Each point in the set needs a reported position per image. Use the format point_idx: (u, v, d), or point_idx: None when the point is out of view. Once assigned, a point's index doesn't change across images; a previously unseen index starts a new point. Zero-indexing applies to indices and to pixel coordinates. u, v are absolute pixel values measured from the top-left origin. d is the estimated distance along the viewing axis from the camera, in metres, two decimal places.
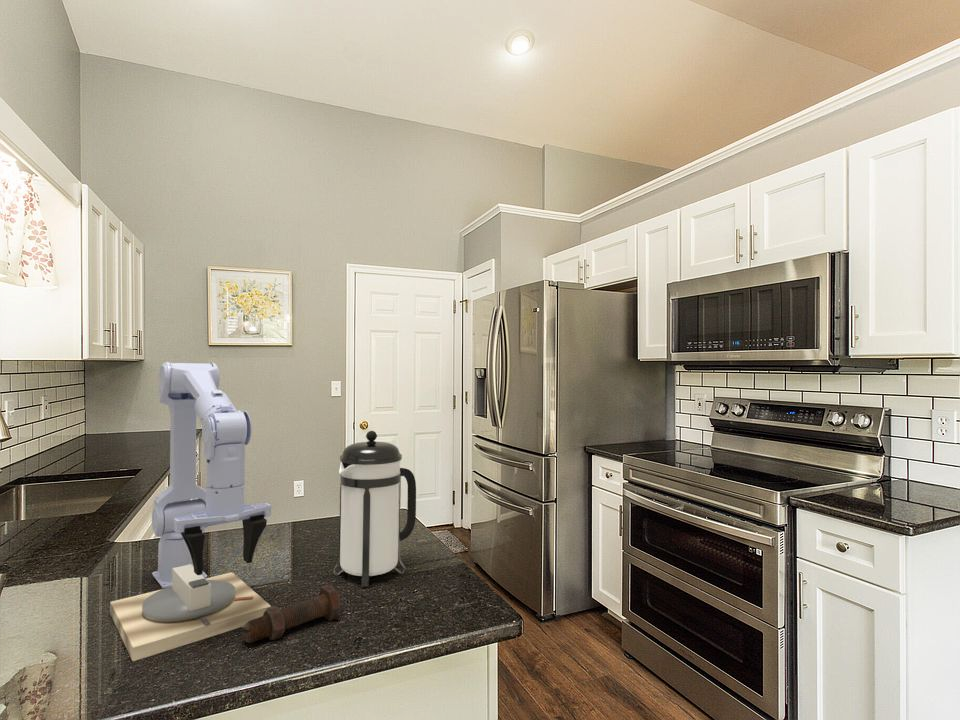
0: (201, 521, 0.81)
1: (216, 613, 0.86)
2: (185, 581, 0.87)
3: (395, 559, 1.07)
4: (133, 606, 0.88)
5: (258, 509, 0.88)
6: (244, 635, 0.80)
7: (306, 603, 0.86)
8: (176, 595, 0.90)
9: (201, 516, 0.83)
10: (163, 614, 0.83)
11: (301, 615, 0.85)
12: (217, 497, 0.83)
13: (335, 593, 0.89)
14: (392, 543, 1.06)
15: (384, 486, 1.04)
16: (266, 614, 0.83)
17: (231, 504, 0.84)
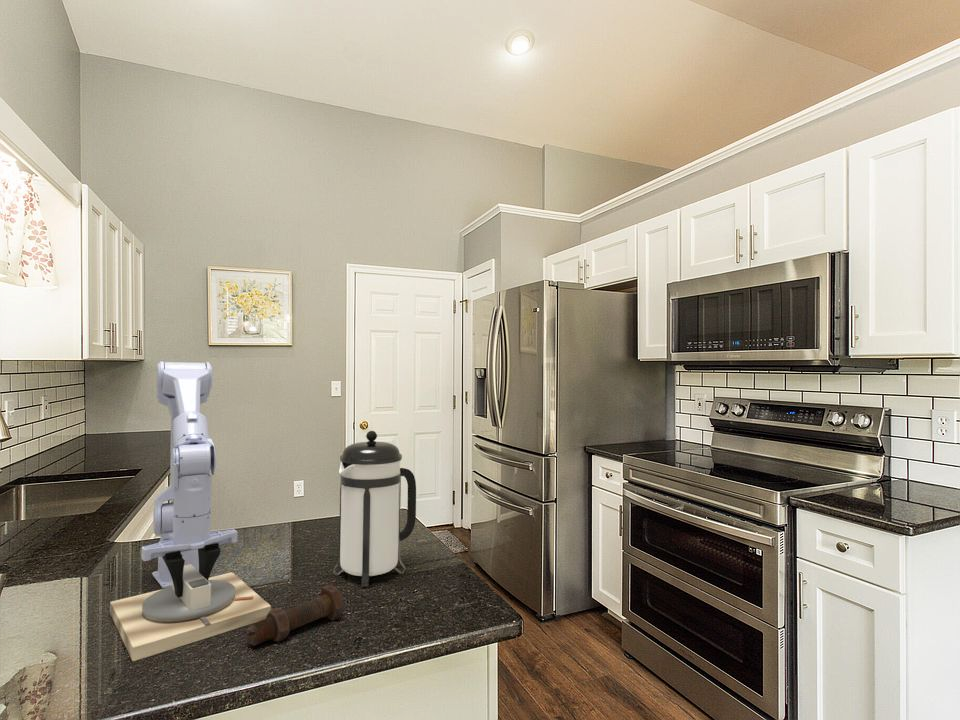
0: (167, 549, 0.85)
1: (216, 613, 0.86)
2: (185, 581, 0.87)
3: (395, 559, 1.07)
4: (133, 606, 0.88)
5: (224, 536, 0.92)
6: (249, 638, 0.79)
7: (309, 604, 0.86)
8: None
9: (168, 544, 0.87)
10: (163, 614, 0.83)
11: (305, 616, 0.85)
12: (183, 526, 0.87)
13: (337, 593, 0.89)
14: (392, 543, 1.06)
15: (384, 486, 1.04)
16: (269, 616, 0.82)
17: (197, 532, 0.88)
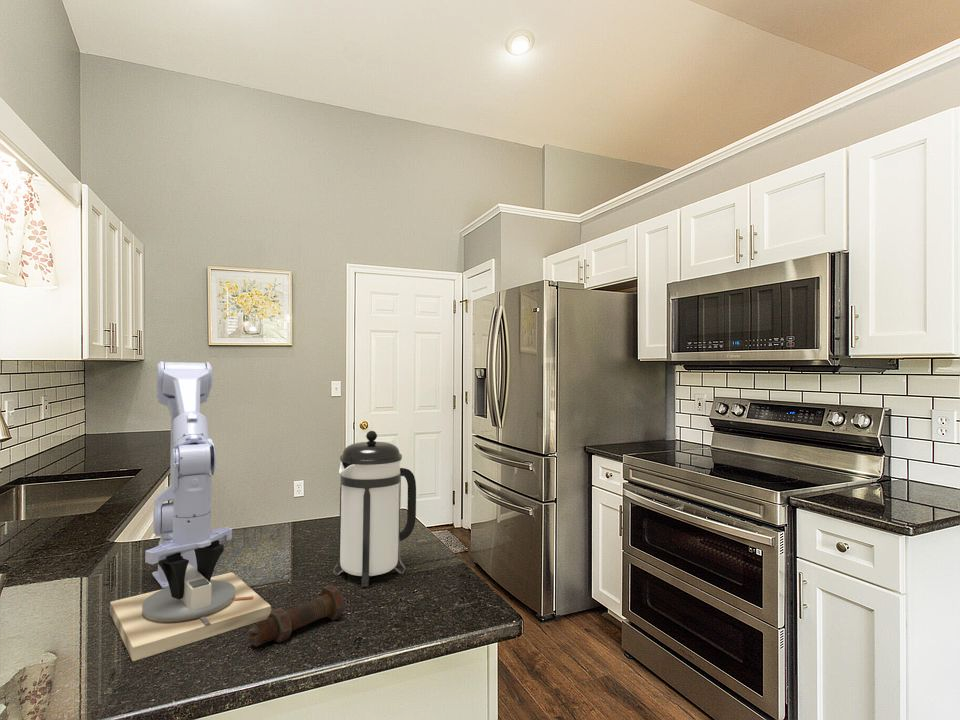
0: (175, 550, 0.85)
1: (216, 613, 0.86)
2: (185, 581, 0.87)
3: (395, 559, 1.07)
4: (133, 606, 0.88)
5: (222, 533, 0.93)
6: (251, 638, 0.79)
7: (310, 604, 0.86)
8: None
9: (171, 546, 0.86)
10: (163, 614, 0.83)
11: (306, 616, 0.84)
12: (190, 526, 0.87)
13: (338, 593, 0.89)
14: (392, 543, 1.06)
15: (384, 486, 1.04)
16: (271, 617, 0.82)
17: (202, 531, 0.88)
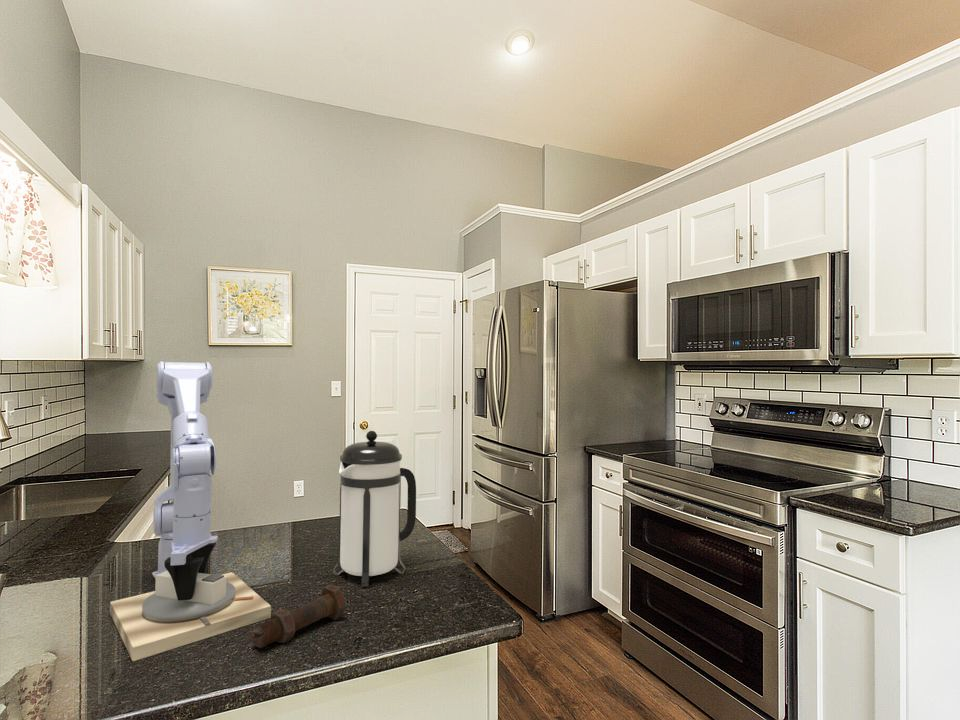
0: (196, 548, 0.86)
1: (216, 613, 0.86)
2: None
3: (395, 559, 1.07)
4: (133, 606, 0.88)
5: None
6: (255, 640, 0.78)
7: (312, 604, 0.86)
8: (173, 599, 0.88)
9: (185, 546, 0.86)
10: (188, 612, 0.83)
11: (309, 616, 0.84)
12: (202, 523, 0.88)
13: (340, 592, 0.89)
14: (392, 543, 1.06)
15: (384, 486, 1.04)
16: (274, 618, 0.82)
17: (209, 527, 0.90)
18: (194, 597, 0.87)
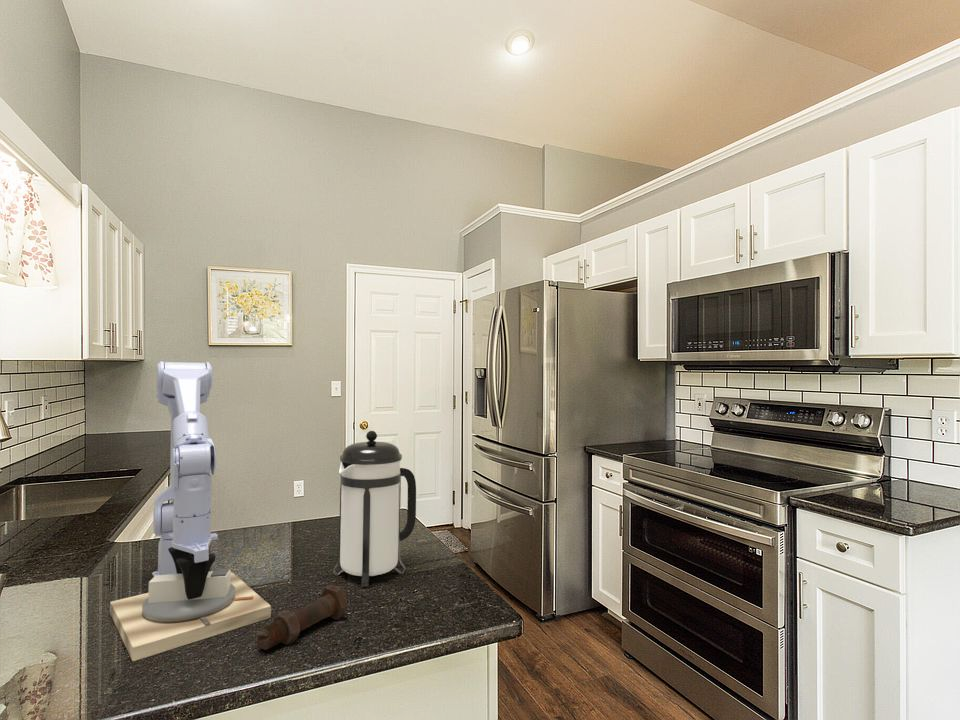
0: None
1: (216, 613, 0.86)
2: None
3: (395, 559, 1.07)
4: (133, 606, 0.88)
5: None
6: (260, 642, 0.78)
7: (315, 604, 0.86)
8: (174, 601, 0.87)
9: (197, 544, 0.87)
10: (210, 606, 0.85)
11: (312, 616, 0.84)
12: (208, 521, 0.90)
13: (341, 592, 0.89)
14: (392, 543, 1.06)
15: (384, 486, 1.04)
16: (278, 619, 0.81)
17: None
18: (202, 594, 0.88)
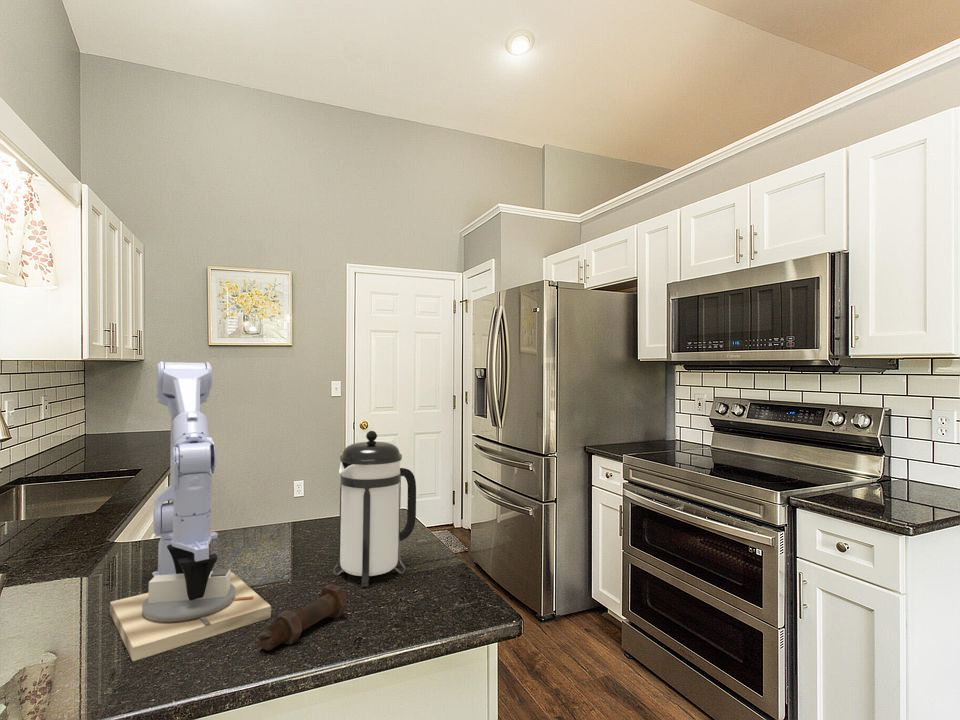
0: None
1: (216, 613, 0.86)
2: None
3: (395, 559, 1.07)
4: (133, 606, 0.88)
5: None
6: (263, 643, 0.78)
7: (315, 604, 0.86)
8: (174, 601, 0.87)
9: None
10: (211, 606, 0.85)
11: (313, 616, 0.84)
12: (208, 520, 0.90)
13: (341, 591, 0.90)
14: (392, 543, 1.06)
15: (384, 486, 1.04)
16: (279, 620, 0.81)
17: None
18: None
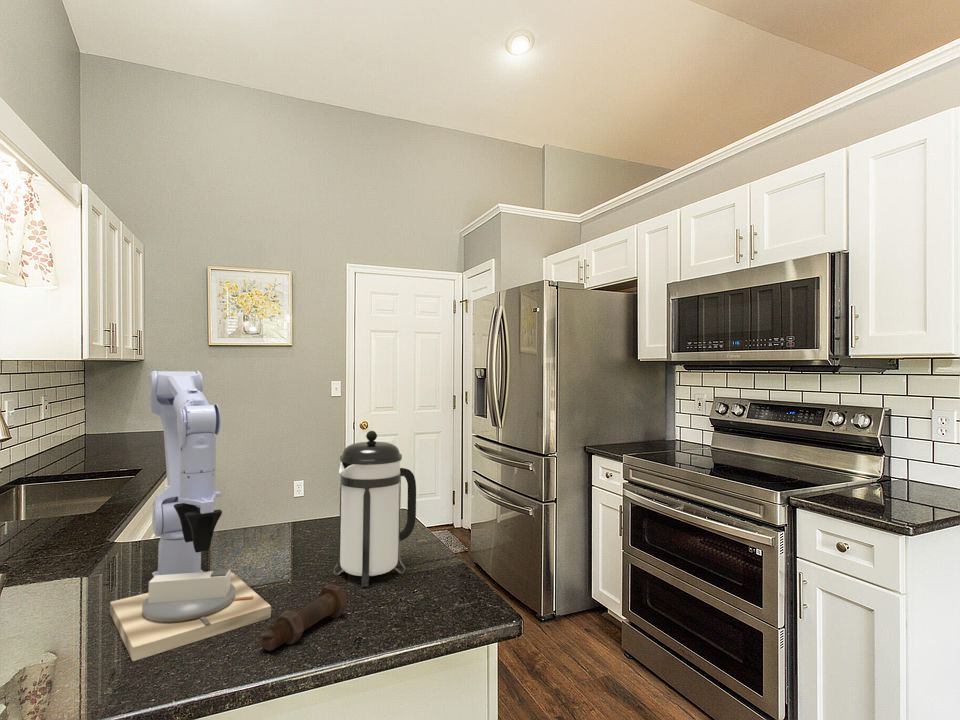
0: None
1: (216, 613, 0.86)
2: (201, 578, 0.89)
3: (395, 559, 1.07)
4: (133, 606, 0.88)
5: None
6: (265, 643, 0.78)
7: (315, 604, 0.86)
8: (174, 601, 0.87)
9: None
10: (211, 606, 0.85)
11: (314, 616, 0.85)
12: (213, 478, 0.95)
13: (341, 590, 0.90)
14: (392, 543, 1.06)
15: (384, 486, 1.04)
16: (281, 620, 0.81)
17: None
18: (202, 594, 0.88)
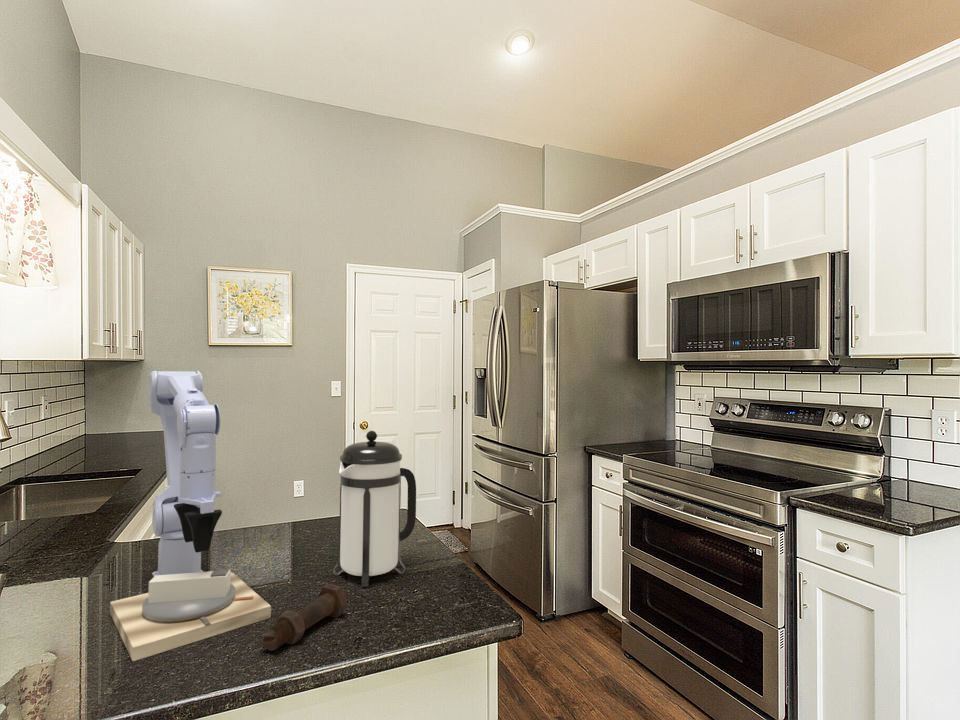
0: None
1: (216, 613, 0.86)
2: (201, 578, 0.89)
3: (395, 559, 1.07)
4: (133, 606, 0.88)
5: None
6: (267, 643, 0.78)
7: (316, 603, 0.86)
8: (174, 601, 0.87)
9: None
10: (211, 606, 0.85)
11: (315, 615, 0.85)
12: (213, 478, 0.95)
13: (340, 590, 0.90)
14: (392, 543, 1.06)
15: (384, 486, 1.04)
16: (282, 620, 0.81)
17: None
18: (202, 594, 0.88)
